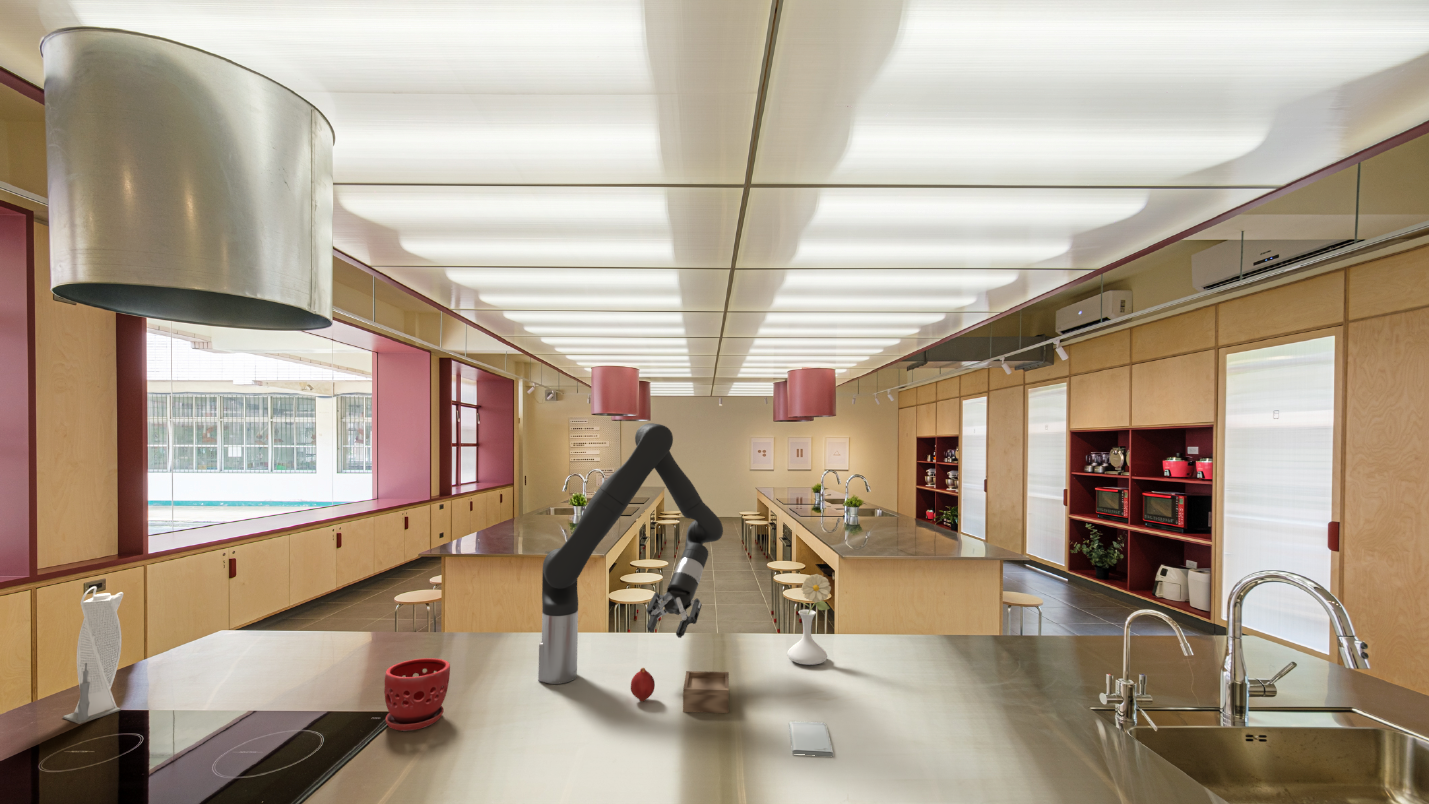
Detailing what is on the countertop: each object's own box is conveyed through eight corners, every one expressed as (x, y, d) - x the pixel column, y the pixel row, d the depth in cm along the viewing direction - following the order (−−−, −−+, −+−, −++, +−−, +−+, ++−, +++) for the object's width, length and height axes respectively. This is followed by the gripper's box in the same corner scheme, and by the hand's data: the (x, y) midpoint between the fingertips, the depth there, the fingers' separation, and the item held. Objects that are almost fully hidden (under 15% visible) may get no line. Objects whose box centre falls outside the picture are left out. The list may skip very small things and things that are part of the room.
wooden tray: (682, 712, 140) (683, 689, 140) (686, 692, 150) (686, 671, 150) (728, 712, 139) (728, 689, 140) (728, 693, 150) (728, 671, 150)
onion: (631, 696, 148) (631, 663, 148) (654, 695, 148) (655, 662, 149) (629, 707, 142) (630, 672, 142) (654, 706, 142) (654, 671, 143)
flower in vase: (779, 662, 170) (780, 573, 171) (798, 651, 179) (798, 566, 181) (822, 673, 163) (822, 580, 164) (839, 660, 172) (839, 572, 173)
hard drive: (833, 752, 121) (826, 721, 133) (792, 749, 121) (788, 720, 134) (833, 760, 121) (826, 729, 133) (792, 758, 121) (788, 727, 134)
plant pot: (439, 733, 129) (441, 676, 129) (373, 738, 127) (375, 679, 127) (455, 706, 142) (456, 654, 142) (395, 709, 140) (397, 657, 140)
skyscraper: (59, 716, 135) (67, 590, 136) (106, 702, 142) (113, 582, 144) (79, 724, 132) (87, 594, 133) (126, 708, 139) (133, 585, 141)
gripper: (658, 568, 166) (635, 622, 155) (704, 574, 160) (683, 630, 149) (668, 583, 171) (645, 636, 160) (713, 589, 164) (693, 645, 154)
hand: (663, 633), depth 155 cm, fingers open, 8 cm apart
